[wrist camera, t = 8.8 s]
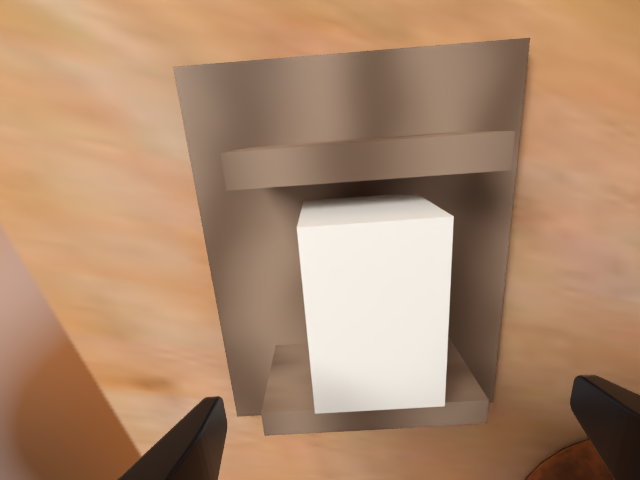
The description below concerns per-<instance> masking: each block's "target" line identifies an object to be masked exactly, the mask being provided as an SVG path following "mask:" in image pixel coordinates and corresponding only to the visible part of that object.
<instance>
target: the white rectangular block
mask: <svg viewBox="0 0 640 480" xmlns="http://www.w3.org/2000/svg"><path fill="white" fill-rule="evenodd" d="M453 222H454V216H452V215H451V214H449V213H447V212H446V211H444V210H443V209H441V208H439V207H438V206H436V205H434V204H433V203H431V202H430V201H428V200H426V199H425V198H423V197H422V196H420V195H418V194H417V193H405V194H392V195H378V196H364V197H350V198H337V199H323V200H309V201H303V205H302V209H301V213H300V217H299V221H298V224H297V236H298V246H299V256H300V266H301V277H302V287H303V297H304V307H305V317H306V327H307V338H308V348H309V358H310V368H311V378H312V388H313V399H314V409H315V414H319V413H337V412H354V411H372V410H389V409H407V408H424V407H442V406H445V391H446V370H447V349H448V328H449V306H450V285H451V264H452V243H453Z"/></svg>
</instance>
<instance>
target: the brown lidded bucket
mask: <svg viewBox="0 0 640 480" xmlns="http://www.w3.org/2000/svg"><path fill="white" fill-rule="evenodd" d="M526 480H615V479H614V478H613V476H612V475H611V473H610V472H609V470H608V469H607V467H606V465H605V464H604V462H603V461H602V459H601V457H600V456H599V454H598V452H597V451H596V449H595V447H594V446H593V444H592V443H591V441H590V439H588V440H586V441H583V442H580V443H577V444H575V445H572V446H570V447H568V448H566V449H564V450H562V451H560V452H558V453H556V454H555V455H553V456H552V457H550V458H549V459H547V460H546V461H544V462H543V463H542V464H541V465H539V466H538V467H537V468H536V469H535V470H534V471H533V472H532V473H531V474H530V475H529V476H528V478H527V479H526Z"/></svg>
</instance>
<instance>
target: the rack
mask: <svg viewBox="0 0 640 480" xmlns="http://www.w3.org/2000/svg"><path fill="white" fill-rule="evenodd" d="M529 43H530V38H522V39H510V40H498V41H486V42H473V43H461V44H449V45H436V46H424V47H412V48H400V49H387V50H375V51H363V52H350V53H338V54H326V55H314V56H301V57H289V58H277V59H264V60H252V61H240V62H228V63H215V64H203V65H191V66H179V67H173V69H174V74H175V80H176V85H177V91H178V96H179V102H180V107H181V113H182V118H183V123H184V129H185V134H186V140H187V145H188V151H189V156H190V161H191V167H192V172H193V178H194V183H195V189H196V194H197V200H198V205H199V210H200V216H201V221H202V227H203V232H204V238H205V243H206V248H207V254H208V259H209V265H210V270H211V276H212V281H213V287H214V292H215V297H216V303H217V308H218V314H219V319H220V325H221V330H222V335H223V341H224V346H225V352H226V357H227V363H228V368H229V373H230V379H231V384H232V390H233V395H234V401H235V406H236V412H237V416H255V415H262V421H263V428H264V434H265V436H267V435H286V434H304V433H322V432H341V431H359V430H377V429H396V428H414V427H433V426H451V425H469V424H487V413H488V403H489V402H493V395H494V385H495V375H496V365H497V356H498V346H499V336H500V326H501V316H502V307H503V297H504V287H505V277H506V268H507V258H508V248H509V238H510V228H511V219H512V209H513V199H514V189H515V179H516V170H517V160H518V150H519V140H520V131H521V121H522V111H523V101H524V91H525V82H526V72H527V62H528V52H529ZM405 193H417V194H418V195H420V196H422V197H423V198H425V199H426V200H428V201H430V202H431V203H433V204H434V205H436V206H438V207H439V208H441V209H443V210H444V211H446V212H447V213H449V214H451V215H452V216H454V222H453V243H452V264H451V285H450V306H449V328H448V349H447V370H446V391H445V406H442V407H424V408H407V409H389V410H372V411H354V412H337V413H319V414H315V409H314V399H313V388H312V378H311V368H310V358H309V348H308V338H307V327H306V317H305V307H304V297H303V287H302V277H301V266H300V256H299V246H298V236H297V224H298V221H299V217H300V213H301V209H302V205H303V201H309V200H323V199H337V198H350V197H364V196H378V195H392V194H405Z"/></svg>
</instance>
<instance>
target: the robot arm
mask: <svg viewBox="0 0 640 480" xmlns="http://www.w3.org/2000/svg"><path fill="white" fill-rule="evenodd" d="M570 405H571V409H572V411H573V413H574V415H575V416H576V418H577V420H578V421H579V423H580V425H581V426H582V428H583V430H584V431H585V433H586V434H587V436H588V438H589V439H590V441H591V443H592V444H593V446H594V447H595V449H596V451H597V452H598V454H599V456H600V457H601V459H602V461H603V462H604V464H605V465H606V467H607V469H608V470H609V472H610V473H611V475H612V476H613V478H614V479H615V480H640V395H638V394H635V393H633V392H631V391H629V390H627V389H625V388H622V387H620V386H618V385H616V384H614V383H612V382H609V381H607V380H605V379H603V378H601V377H598V376H596V375H580V376H577V377H576V378H575V379H574V383H573V389H572V394H571V399H570ZM226 433H227V419H226V414H225V408H224V403H223V400H222V398H221V397H219V396H217V397H206V398H204V399H203V400H202V401H201V402H200V403H199V404H198V405H196V406H195V407H194V408H193V409H192V410H191V411H190V412H189V413H188V414H187V415H186V416H185V417H184V418H183V419H182V420H180V421H179V422H178V423H177V424H176V425H175V426H174V427H173V428H172V429H171V430H170V431H169V432H168V433H167V434H166V435H165V436H163V437H162V438H161V439H160V440H159V441H158V442H157V443H156V444H155V445H154V446H153V447H152V448H151V449H150V450H149V451H147V452H146V453H145V454H144V455H143V456H142V457H141V458H140V459H139V460H138V461H137V462H136V463H135V464H134V465H133V466H132V467H131V468H129V469H128V470H127V471H126V472H125V473H124V474H123V475H122V476H121V477H120V478H119V479H118V480H218V475H219V470H220V465H221V459H222V454H223V449H224V443H225V438H226Z"/></svg>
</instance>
